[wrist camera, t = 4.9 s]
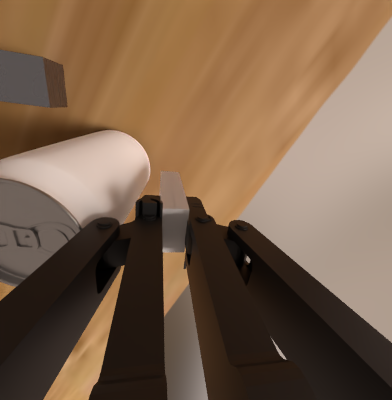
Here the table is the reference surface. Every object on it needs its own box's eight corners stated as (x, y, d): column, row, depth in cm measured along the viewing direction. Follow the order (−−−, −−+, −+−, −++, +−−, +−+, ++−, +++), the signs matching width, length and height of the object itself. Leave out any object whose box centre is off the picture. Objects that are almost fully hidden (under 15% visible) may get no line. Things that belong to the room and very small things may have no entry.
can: (150, 198, 21) (103, 301, 10) (86, 192, 20) (-36, 291, 10) (152, 133, 18) (89, 177, 7) (78, 124, 18) (-107, 156, 7)
